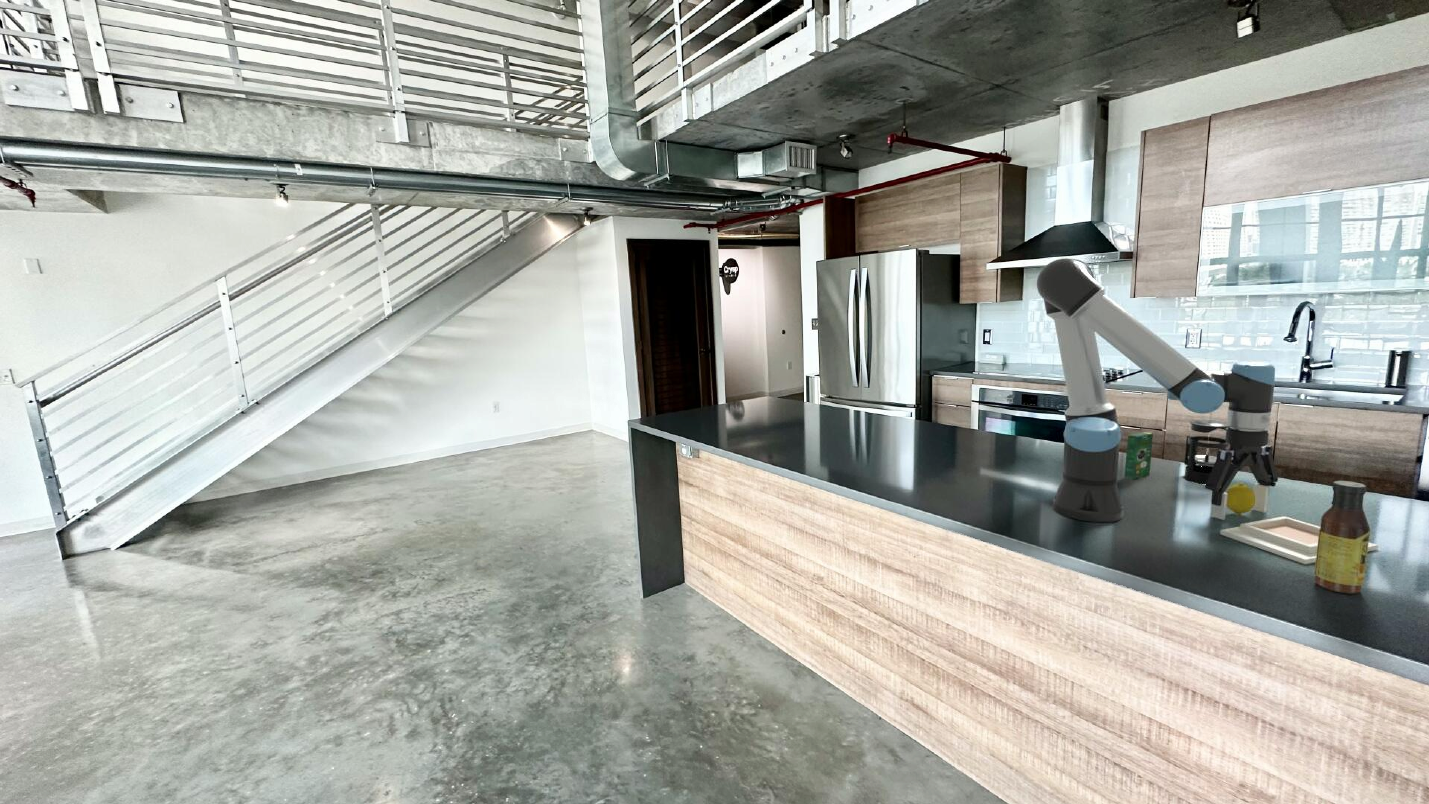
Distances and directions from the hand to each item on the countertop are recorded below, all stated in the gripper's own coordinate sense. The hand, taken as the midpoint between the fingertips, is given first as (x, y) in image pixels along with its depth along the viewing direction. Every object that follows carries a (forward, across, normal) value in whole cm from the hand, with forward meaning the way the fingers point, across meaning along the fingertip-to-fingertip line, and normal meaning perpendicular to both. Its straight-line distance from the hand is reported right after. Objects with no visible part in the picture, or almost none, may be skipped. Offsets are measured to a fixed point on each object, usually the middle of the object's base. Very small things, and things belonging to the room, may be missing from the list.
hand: (1238, 514), depth 142 cm
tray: (0, -5, -15) cm, 16 cm away
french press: (0, +18, +22) cm, 28 cm away
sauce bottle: (0, -20, -31) cm, 37 cm away
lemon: (0, 0, 0) cm, 0 cm away
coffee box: (0, +5, +31) cm, 32 cm away
